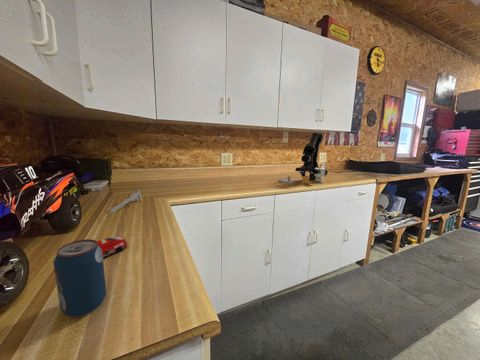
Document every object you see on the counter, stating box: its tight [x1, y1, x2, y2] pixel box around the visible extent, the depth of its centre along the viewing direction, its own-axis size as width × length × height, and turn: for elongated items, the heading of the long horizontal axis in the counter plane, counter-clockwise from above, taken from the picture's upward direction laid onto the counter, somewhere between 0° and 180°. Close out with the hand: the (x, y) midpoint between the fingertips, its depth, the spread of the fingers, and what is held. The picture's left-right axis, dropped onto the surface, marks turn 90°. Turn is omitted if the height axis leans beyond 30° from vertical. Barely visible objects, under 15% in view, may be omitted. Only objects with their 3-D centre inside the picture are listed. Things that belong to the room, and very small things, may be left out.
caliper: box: [107, 188, 142, 214], centre depth 96 cm, size 20×1×6 cm, turn 170°
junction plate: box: [277, 175, 301, 185], centre depth 168 cm, size 13×13×4 cm
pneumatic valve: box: [312, 166, 329, 183], centre depth 171 cm, size 6×12×12 cm, turn 77°
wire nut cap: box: [301, 174, 312, 185], centre depth 164 cm, size 5×5×6 cm
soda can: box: [53, 238, 107, 318], centre depth 38 cm, size 7×7×12 cm
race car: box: [96, 236, 128, 260], centre depth 55 cm, size 13×5×4 cm, turn 147°
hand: (306, 181), depth 165 cm, fingers closed on wire nut cap, 5 cm apart
